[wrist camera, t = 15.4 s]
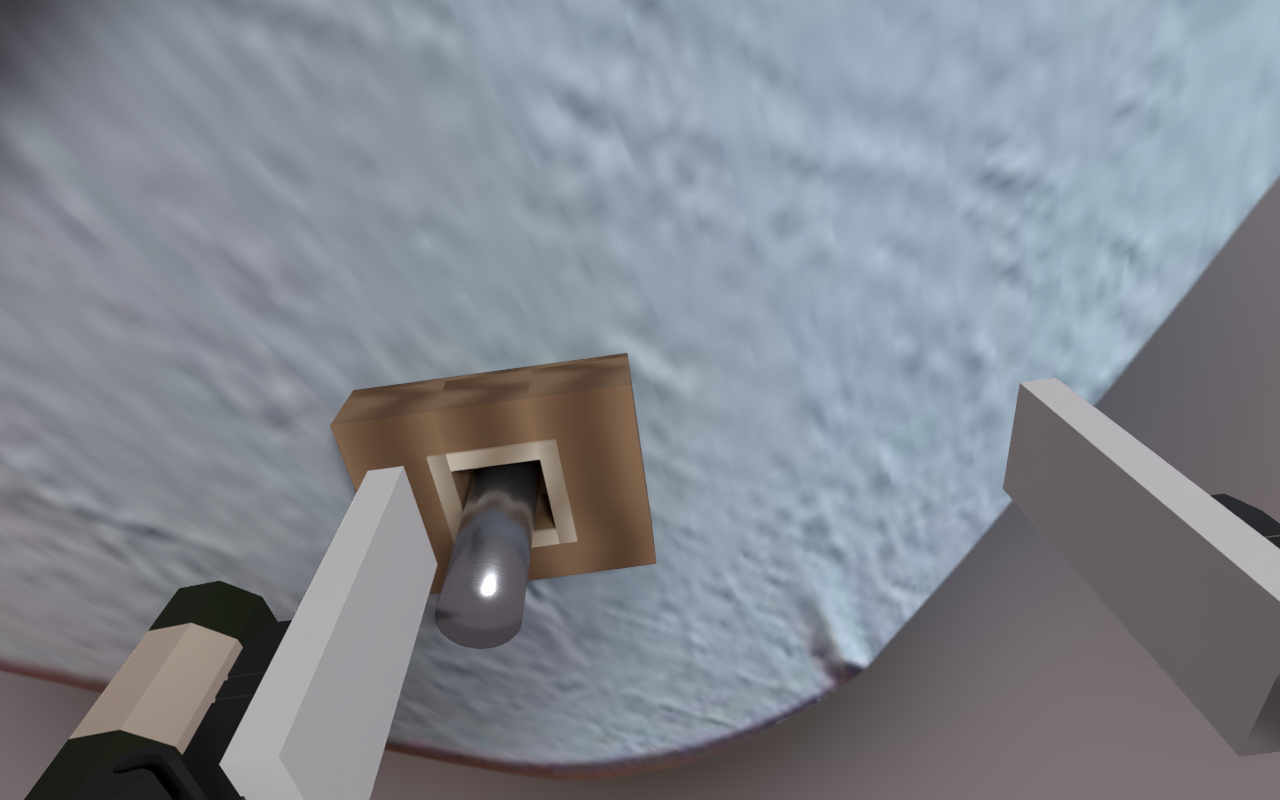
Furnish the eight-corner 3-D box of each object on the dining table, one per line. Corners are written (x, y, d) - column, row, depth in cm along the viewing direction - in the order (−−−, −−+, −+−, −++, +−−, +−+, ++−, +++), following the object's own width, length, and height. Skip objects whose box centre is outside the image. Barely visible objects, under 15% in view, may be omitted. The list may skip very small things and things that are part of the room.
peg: (485, 494, 49) (447, 653, 37) (470, 442, 47) (424, 592, 35) (547, 486, 49) (529, 642, 37) (534, 434, 47) (511, 581, 35)
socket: (413, 554, 52) (397, 600, 48) (353, 390, 45) (329, 427, 41) (651, 522, 52) (656, 565, 48) (627, 353, 45) (630, 386, 41)
